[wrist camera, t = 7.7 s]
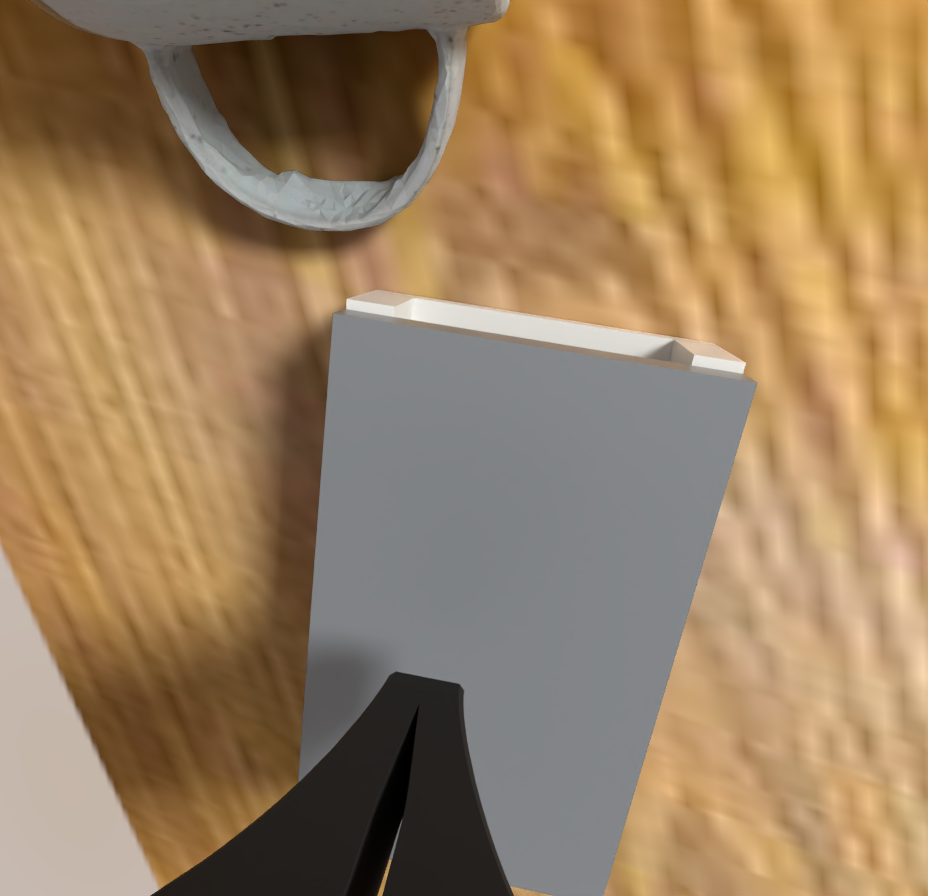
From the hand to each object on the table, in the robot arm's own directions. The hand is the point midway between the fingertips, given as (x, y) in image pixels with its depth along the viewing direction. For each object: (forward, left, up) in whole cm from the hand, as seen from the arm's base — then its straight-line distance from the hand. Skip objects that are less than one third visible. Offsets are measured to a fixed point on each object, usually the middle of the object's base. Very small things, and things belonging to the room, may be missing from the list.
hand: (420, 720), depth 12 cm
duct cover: (0, -1, -3) cm, 3 cm away
